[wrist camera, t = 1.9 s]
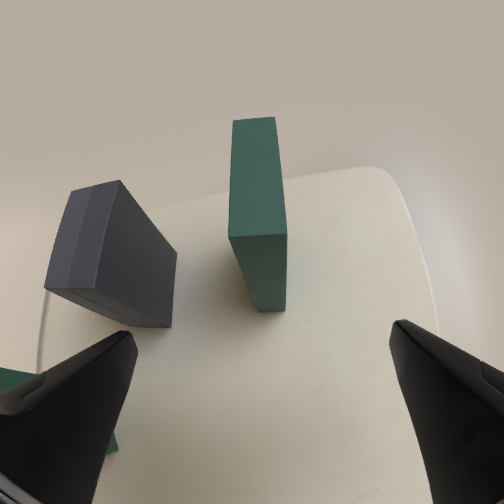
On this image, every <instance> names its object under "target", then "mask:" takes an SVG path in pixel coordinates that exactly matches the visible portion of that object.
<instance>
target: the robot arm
mask: <svg viewBox="0 0 504 504" xmlns="http://www.w3.org/2000/svg"><path fill="white" fill-rule="evenodd" d="M389 346H390V350H391V354H392V358H393V362H394V366H395V370H396V374H397V378H398V382H399V385H400V388H401V391H402V393H403V396H404V399H405V402H406V405H407V408H408V411H409V414H410V417H411V420H412V423H413V426H414V429H415V433H416V436H417V439H418V443H419V446H420V450H421V453H422V457H423V461H424V465H425V468H426V472H427V477H428V481H429V484H430V485H429V486H430V490H431V495H432V500H433V504H504V372H502V371H499V370H498V369H496V368H494V367H492V366H490V365H488V364H487V363H485V362H483V361H480V360H479V359H478V358H476V357H474V356H472V355H470V354H469V353H467V352H465V351H463V350H461V349H459V348H458V347H456V346H454V345H452V344H450V343H448V342H447V341H445V340H443V339H441V338H439V337H438V336H436V335H434V334H432V333H430V332H428V331H426V330H425V329H423V328H421V327H419V326H417V325H415V324H414V323H412V322H410V321H408V320H406V319H403V320H396V321H395V322H394V323H393V327H392V331H391V336H390V340H389ZM137 356H138V348H137V346H136V343H135V341H134V338H133V335H132V333H131V332H130V331H124V330H120V331H118V332H116V333H114V334H112V335H110V336H109V337H107V338H105V339H103V340H101V341H100V342H98V343H96V344H94V345H92V346H90V347H89V348H87V349H85V350H83V351H81V352H80V353H78V354H76V355H74V356H72V357H70V358H69V359H67V360H65V361H63V362H61V363H59V364H58V365H56V366H54V367H52V368H50V369H48V370H47V371H45V372H43V373H41V374H39V375H37V376H35V377H33V378H31V379H30V380H27V381H25V382H23V383H21V384H19V385H17V386H14V387H12V388H10V389H8V390H5V391H3V392H1V393H0V504H92V501H93V497H94V493H95V489H96V486H97V481H98V478H99V475H100V472H101V468H102V465H103V462H104V459H105V455H106V452H107V449H108V446H109V443H110V440H111V437H112V434H113V431H114V428H115V425H116V423H117V420H118V417H119V414H120V411H121V409H122V406H123V403H124V400H125V398H126V395H127V392H128V389H129V386H130V383H131V379H132V375H133V371H134V367H135V364H136V360H137Z"/></svg>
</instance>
